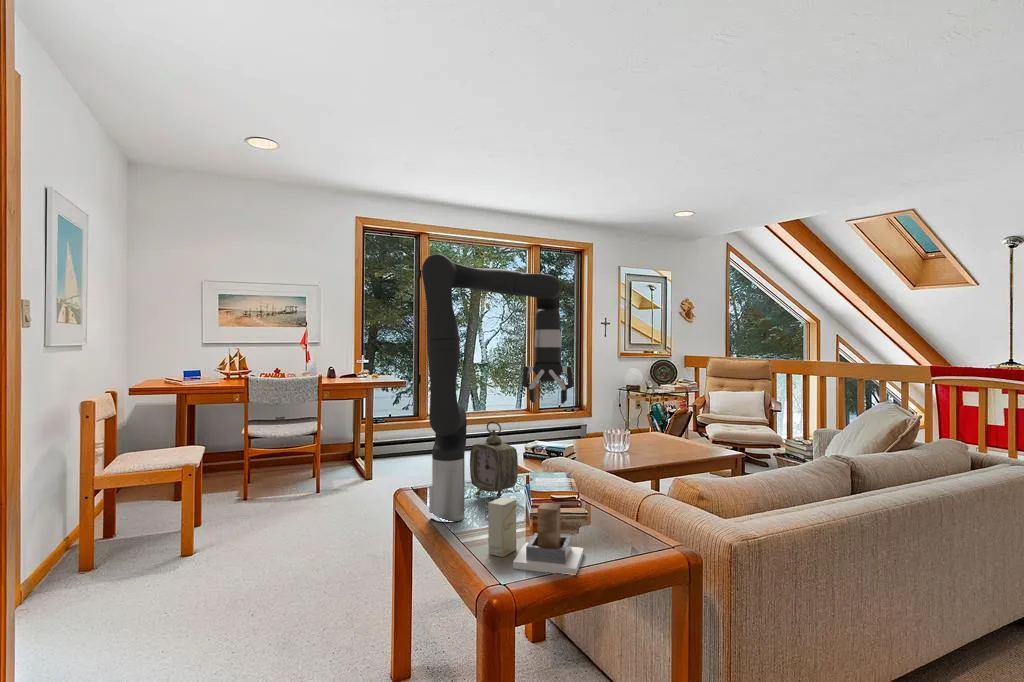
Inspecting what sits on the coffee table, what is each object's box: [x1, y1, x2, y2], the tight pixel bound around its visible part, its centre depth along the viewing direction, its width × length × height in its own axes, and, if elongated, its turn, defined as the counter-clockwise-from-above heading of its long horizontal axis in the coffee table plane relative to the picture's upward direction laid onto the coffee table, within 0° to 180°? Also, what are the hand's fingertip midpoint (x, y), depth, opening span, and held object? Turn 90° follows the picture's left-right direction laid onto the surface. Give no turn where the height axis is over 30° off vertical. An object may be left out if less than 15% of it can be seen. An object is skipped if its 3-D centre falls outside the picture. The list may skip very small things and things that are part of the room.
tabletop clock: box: [469, 420, 519, 499], centre depth 169 cm, size 14×9×25 cm, turn 43°
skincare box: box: [487, 496, 517, 558], centre depth 125 cm, size 6×4×12 cm
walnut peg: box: [537, 502, 561, 548], centre depth 119 cm, size 4×4×11 cm
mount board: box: [512, 532, 585, 574], centre depth 119 cm, size 14×12×4 cm
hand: (548, 402), depth 148 cm, fingers open, 8 cm apart
